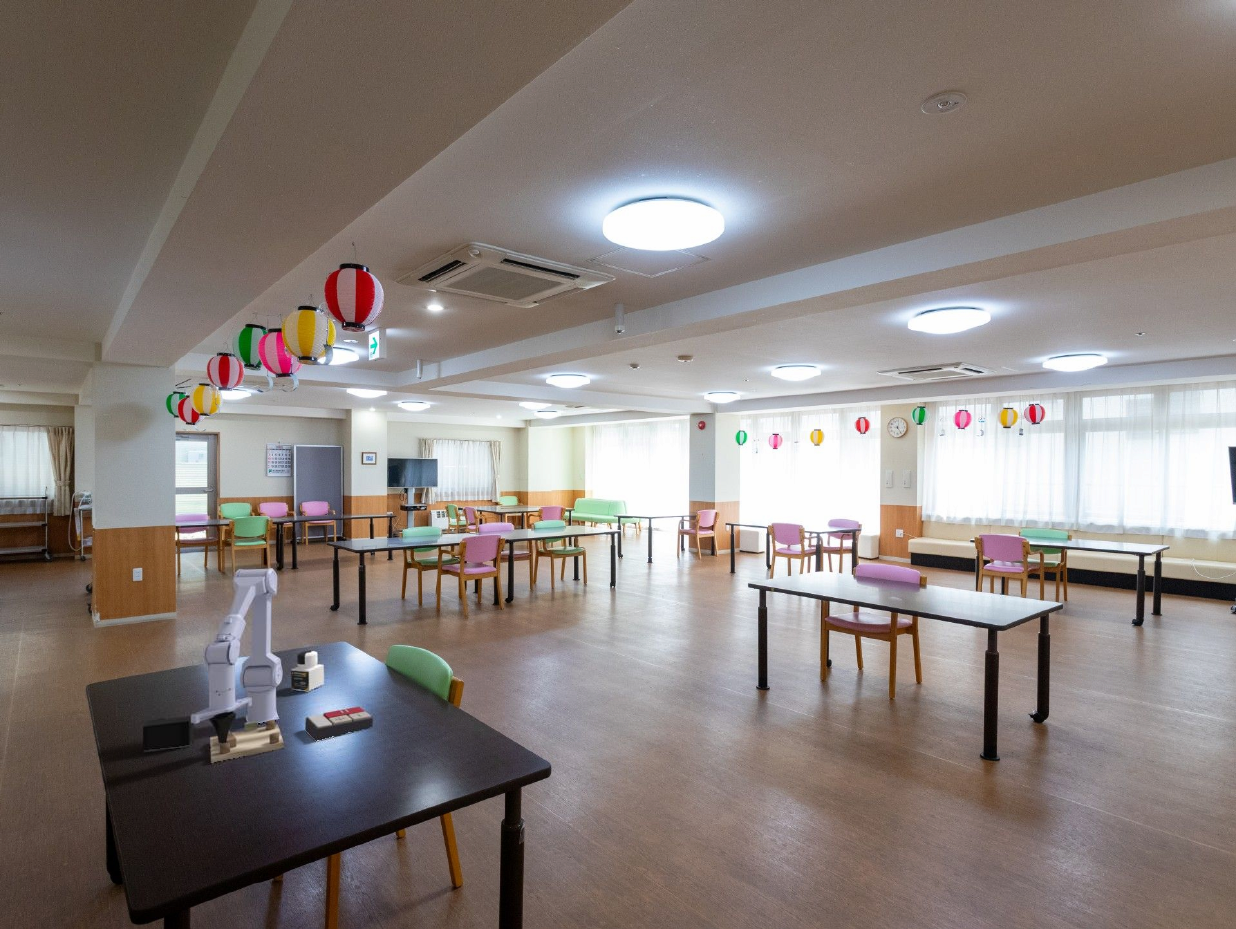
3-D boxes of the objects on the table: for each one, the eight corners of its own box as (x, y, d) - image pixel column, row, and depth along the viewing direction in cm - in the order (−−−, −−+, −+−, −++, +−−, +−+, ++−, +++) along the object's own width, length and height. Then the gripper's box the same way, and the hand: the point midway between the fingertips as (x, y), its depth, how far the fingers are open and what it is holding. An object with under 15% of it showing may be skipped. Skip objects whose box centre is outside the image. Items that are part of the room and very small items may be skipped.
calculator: (373, 715, 187) (316, 726, 177) (373, 730, 187) (315, 742, 177) (360, 704, 195) (305, 714, 186) (359, 719, 195) (304, 730, 186)
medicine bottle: (290, 691, 219) (290, 654, 219) (306, 684, 226) (306, 648, 226) (308, 692, 217) (308, 655, 217) (324, 685, 224) (323, 649, 224)
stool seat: (210, 743, 177) (210, 729, 177) (277, 729, 186) (277, 717, 186) (211, 763, 165) (211, 749, 165) (283, 748, 173) (283, 734, 173)
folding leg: (217, 737, 177) (217, 728, 177) (227, 735, 178) (227, 725, 179) (227, 748, 170) (227, 738, 170) (236, 746, 171) (236, 736, 171)
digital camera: (195, 739, 180) (195, 713, 180) (190, 747, 175) (189, 720, 175) (150, 745, 177) (149, 718, 177) (143, 753, 172) (142, 726, 172)
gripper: (202, 699, 163) (203, 756, 163) (258, 682, 176) (259, 735, 175) (185, 695, 166) (186, 750, 166) (242, 679, 179) (242, 730, 179)
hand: (222, 742), depth 171 cm, fingers closed, pressing on folding leg
